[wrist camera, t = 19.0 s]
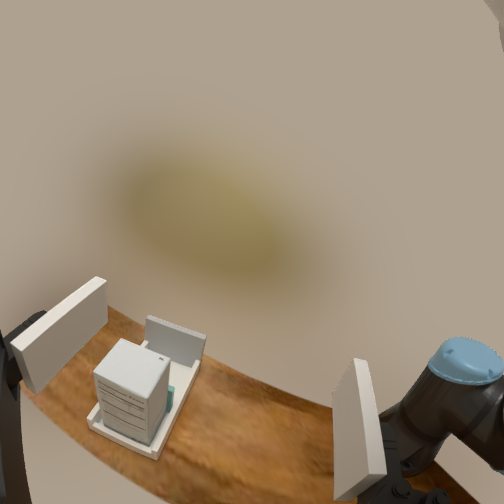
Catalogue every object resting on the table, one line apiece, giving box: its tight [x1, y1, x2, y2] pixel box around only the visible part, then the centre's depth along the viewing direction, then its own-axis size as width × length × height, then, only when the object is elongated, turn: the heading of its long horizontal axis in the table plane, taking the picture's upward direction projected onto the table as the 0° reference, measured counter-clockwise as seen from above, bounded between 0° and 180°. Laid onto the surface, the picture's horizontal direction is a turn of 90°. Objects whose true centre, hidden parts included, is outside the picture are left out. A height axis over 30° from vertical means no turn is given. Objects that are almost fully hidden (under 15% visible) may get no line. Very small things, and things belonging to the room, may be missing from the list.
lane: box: [87, 315, 207, 461], centre depth 39 cm, size 21×11×8 cm, turn 170°
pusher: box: [166, 385, 175, 413], centre depth 38 cm, size 1×8×6 cm, turn 80°
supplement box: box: [93, 339, 171, 447], centre depth 33 cm, size 7×7×13 cm
